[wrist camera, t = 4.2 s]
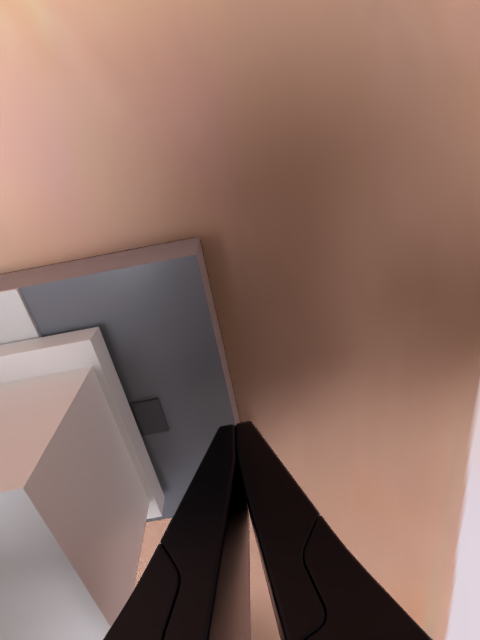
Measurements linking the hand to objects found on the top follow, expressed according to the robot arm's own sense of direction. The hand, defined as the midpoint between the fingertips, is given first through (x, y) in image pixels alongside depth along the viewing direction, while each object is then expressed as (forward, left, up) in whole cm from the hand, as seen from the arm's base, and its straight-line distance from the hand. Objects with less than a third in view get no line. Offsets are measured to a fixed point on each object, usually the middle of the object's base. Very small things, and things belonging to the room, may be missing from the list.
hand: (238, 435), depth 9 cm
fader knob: (+4, +3, -1) cm, 5 cm away
